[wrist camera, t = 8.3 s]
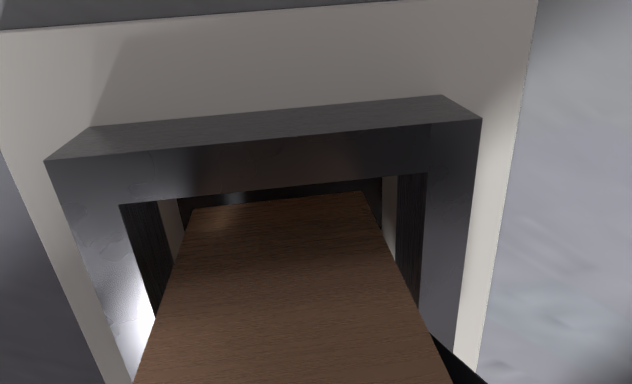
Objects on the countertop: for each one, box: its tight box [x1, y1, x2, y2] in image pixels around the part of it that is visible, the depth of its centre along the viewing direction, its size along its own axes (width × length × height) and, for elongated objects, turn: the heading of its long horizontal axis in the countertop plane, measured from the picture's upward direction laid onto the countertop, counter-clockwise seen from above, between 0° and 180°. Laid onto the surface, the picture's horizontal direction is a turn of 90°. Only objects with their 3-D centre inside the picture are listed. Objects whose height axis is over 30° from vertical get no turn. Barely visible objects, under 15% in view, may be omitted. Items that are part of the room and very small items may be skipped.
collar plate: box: [0, 0, 539, 384], centre depth 11 cm, size 12×12×4 cm
